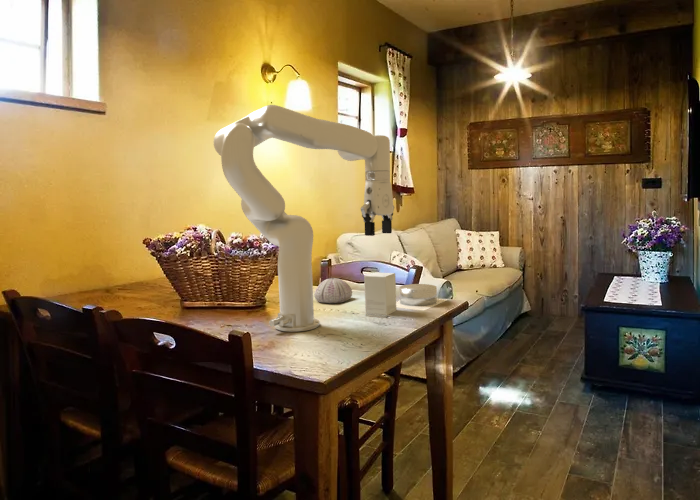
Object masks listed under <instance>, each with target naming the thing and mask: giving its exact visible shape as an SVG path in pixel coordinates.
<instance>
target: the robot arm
mask: <svg viewBox="0 0 700 500" xmlns="http://www.w3.org/2000/svg"><path fill="white" fill-rule="evenodd" d="M272 138H273V139H276V140H280V141H283V142H287V143H291V144H293V145H296V146H299V147H303V148H305V149H310V150H331V151H337V153H338V155H339V157H340V158H341V159H343V160H345V161H347V162H348V161H350V162H355V161H360V160H364V182H365V184H364V194H363V196H364V197H363V205H362V206H361V207H360V212H361V217H362V219H363V220H362V221H363V223H364V236H365V237H366V236H369V237H375V235H376V230H375V229H376V227H375V226H376V225H375V221H374V220H375V218H376V216H381V217H382V218H381V219H382V220H381V233H382V234H392V232H393V231H392V230H393V229H392V226H393V225H392V221H393V215H394V211H395V210H394V209H395V205H394V196H393V188H392V183H391V147H390V146H391V144H390V143H391V142H390V138H389V137H388V136H387V135H379V134H377V135H373V134H372V133H370V132H369V131H368V130H364V129H361V128H359V127H356V126H354V125H353V126H352V125H350V124H345V123H342V122H341V123H340V122H336V121H335V122H334V121H330V120H325V119H320V118H316V117H312V116H309V115H306V114H304V113H300V112H298V111H295V110H293V109H289V108H286V107H283V106H280V105H276V104H268V105H264V106H263V107H261V108H258V109H257V110H256V109H255V110H254V111H253V112H251V113H249V114H248V115H246V116H244V117H242V118H241V119H238V120H236V121H234V122H233V123H231V124H229V125H227V126H225V127H223V128H221V129H220V130H218V131H217V132H216V134H215V135H214V138H213V147H214V150H215V151H216V153H217V154H218V155H219V156H220V160H221V168H222V172H223V175H224V178H225V180H226V181H227V182H228V183H229V185H230V187H232V190H233V191H235V193H236V194H237V195H238V196H239V197H240V199H241V200H240V201H241V202H240V206H241V207H240V208H241V210H242V213H243V214H244V215H245V217H246V218H247V219H248V220H249V222H250V223H251V224H252V225H253V226H254V228H256V229H257V231H259V232H260V233H261V235H262V236H264V238H265V239H266V240H267V241H268V242H269V243H271V244H272V245H273V246H276V247H277V248H278V247H279V248H278V255H277V276H278V277H277V279H278V281H277V282H278V297H279V298H278V299H279V302H278V303H279V312H278V313H277V317H276V318H272V319H270V320H269V321H268V325H269V327H272V328H273V327H274V328H275V329H276V330H277V331H281V332H287V333H292V332H293V333H294V332H297V333H298V332H305V331H310V330H311V331H312V330H314V329H316V328H318V327H320V320H318V319H317V318H315V314H314V313H315V312H314V311H315V310H314V290H313V289H314V287H313V286H314V285H313V266H312V263H313V262H312V258H313V256H312V255H313V253H312V252H313V244H314V243H313V242H314V230H313V227H312V224H311V223H310V221H308V220H307V219H306V218H305V217H303V216H300V215H297V214H288V213H286V201H285V199H284V196H283V195H282V194H281V193H280V191H278V190H277V189H276V188H275V186H274V185H272V183H271V182H270V181H269V180H268V179H267V178H266V177H265V175H264V174H263V173H262V172H261V170H260V169H259V167H258V166H257V164H256V162H255V159H254V149H255V147H257V146H259V145H260V144H262V143H264V142H265V141H267V140H269V139H272Z"/></svg>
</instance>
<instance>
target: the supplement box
mask: <svg viewBox="0 0 700 500" xmlns="http://www.w3.org/2000/svg"><path fill="white" fill-rule="evenodd" d="M363 277H364V278H363V279H364V280H363V282H364V299H365V301H364V302H365V303H364V305H365V317H368V318H369V317H371V318H382V319H388V318H390V317H391V316H389V315H390V314H392V313H395V312H396V311H397V309H398V308H396V302H397V284H396V283H397V282H396V273H395V272H372V273H369V274H365V275H364V276H363Z"/></svg>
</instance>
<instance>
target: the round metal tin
mask: <svg viewBox="0 0 700 500" xmlns="http://www.w3.org/2000/svg"><path fill="white" fill-rule="evenodd" d="M437 288H438V287H437V286H436V285H433V284H428V283H427V284H426V283H424V284H423V283H412V284H411V283H410V284H404V285H401V286H399V300H400V304H403V305H407V306H429V305H434V304H436V303H437V299H438V296H437V294H438V293H437V291H438V289H437Z"/></svg>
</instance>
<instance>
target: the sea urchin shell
mask: <svg viewBox="0 0 700 500" xmlns="http://www.w3.org/2000/svg"><path fill="white" fill-rule="evenodd" d="M352 296H353V289H352V288H351V286H350V285H349V283H347V282H346V281H344V280H343V279H341V278H338V277H337V278H336V277H330V278H327V279H324V280H322V281H321V282H320V283H319V284H318V286H317V288H316V289H315V291H314V293H313V297H314V299H315V300H316V301H317V302H318V303H322V304H337V303H339V304H340V303H344V302H347V301H350V300H351V298H352Z"/></svg>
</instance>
